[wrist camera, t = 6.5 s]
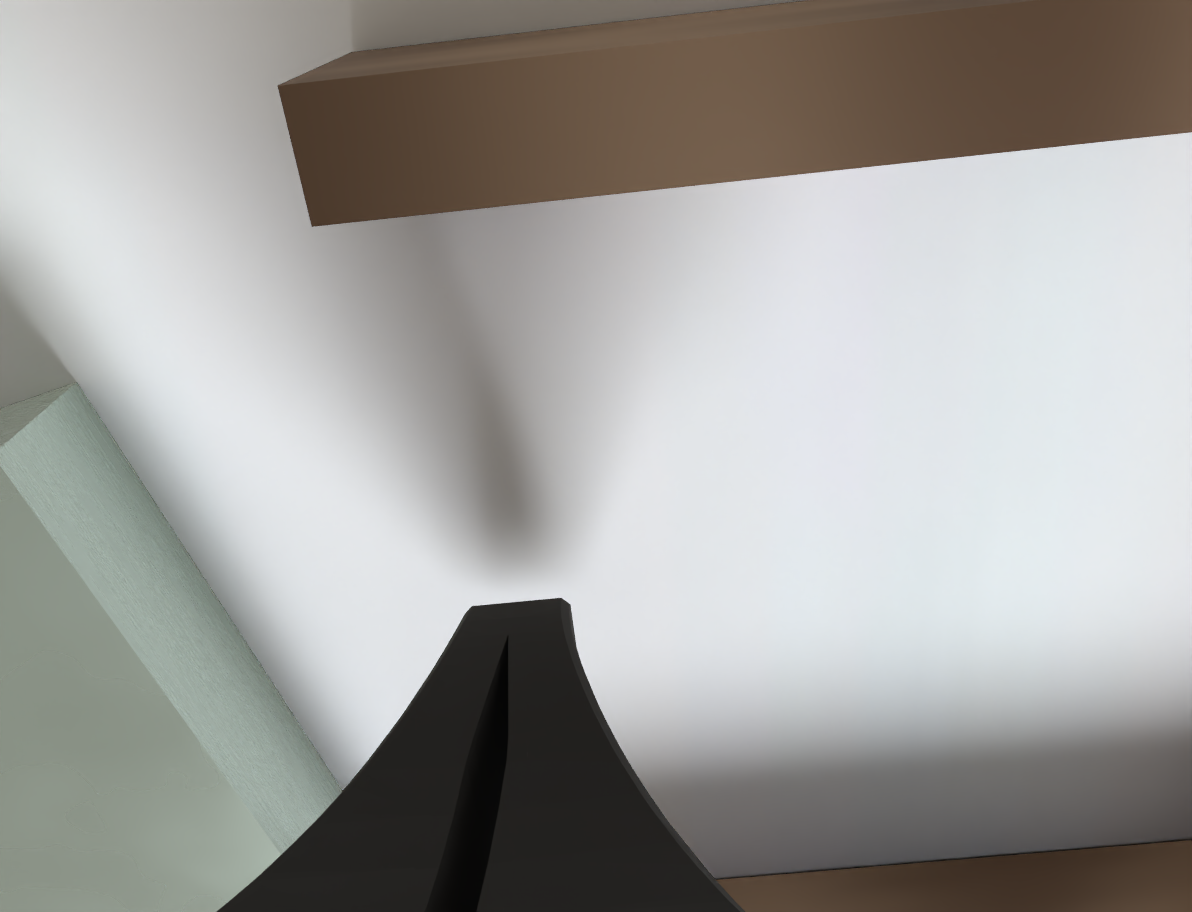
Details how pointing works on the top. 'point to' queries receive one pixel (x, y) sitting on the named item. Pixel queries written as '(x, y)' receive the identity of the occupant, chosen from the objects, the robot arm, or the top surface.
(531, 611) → the robot arm
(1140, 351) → the top surface
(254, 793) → the cover plate
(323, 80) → the walnut box
